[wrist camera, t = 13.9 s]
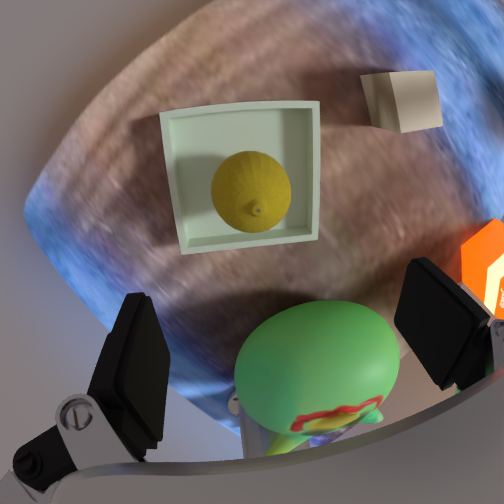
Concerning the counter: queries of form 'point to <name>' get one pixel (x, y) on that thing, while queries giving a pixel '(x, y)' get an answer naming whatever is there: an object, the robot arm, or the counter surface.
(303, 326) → the toy bird
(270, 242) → the tray
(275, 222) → the lemon
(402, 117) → the beech block
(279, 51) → the counter surface
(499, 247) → the orange juice
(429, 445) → the robot arm
